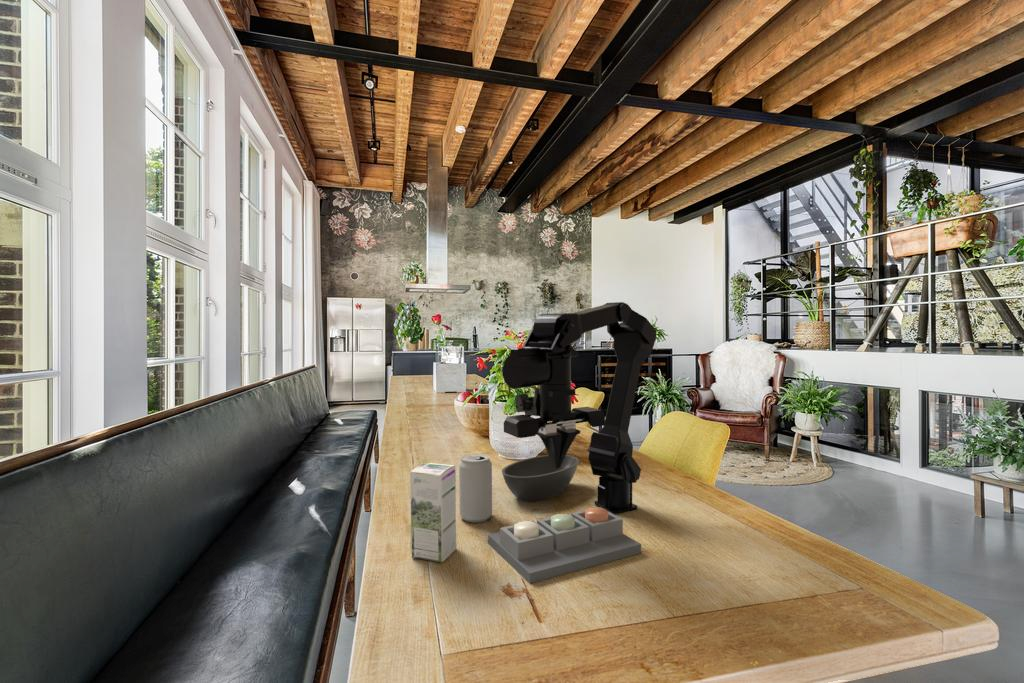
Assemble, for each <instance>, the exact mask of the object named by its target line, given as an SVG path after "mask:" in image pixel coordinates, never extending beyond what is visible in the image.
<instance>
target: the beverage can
mask: <svg viewBox="0 0 1024 683" xmlns="http://www.w3.org/2000/svg"><path fill="white" fill-rule="evenodd" d="M460 460H461V461H460V462H459V464H458V473H459V474H458V476H459V478H458V479H459V483H458V484H459V486H458V488H459V492H458V493H459V494H458V495H459V516H460V518H462V519H463V520H464V521H465V522H469V523H482V522H485V521H487V519H488V520H489V519H490V518H491V516H492V515H493V467H492V465H493V464H492V461H491V457H490V456H489V455H488V454H484V453H471V454H466V455H465V454H464V455H462V456H461V457H460Z"/></svg>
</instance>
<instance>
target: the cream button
mask: <svg viewBox="0 0 1024 683" xmlns="http://www.w3.org/2000/svg"><path fill="white" fill-rule="evenodd" d="M536 523H537V522H536ZM536 523H534V522H531V521H528V520H527V521H525V520H524V521H523V520H522V521H519V522H516V523H515V524H513V525H514V535H515V536H516V537H517V538H518V539H519V540H523V539H527V538H532V537H536V536H539V526H538V524H536Z"/></svg>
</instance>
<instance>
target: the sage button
mask: <svg viewBox="0 0 1024 683" xmlns="http://www.w3.org/2000/svg"><path fill="white" fill-rule="evenodd" d="M567 514H568V513H558V514H554V515H552V516H551V527H553V528H554V529H555V530H557V531H563V530H567V529H572V528H575V518H574V517H573V516H571V514H569V515H567Z"/></svg>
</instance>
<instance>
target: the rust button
mask: <svg viewBox="0 0 1024 683" xmlns="http://www.w3.org/2000/svg"><path fill="white" fill-rule="evenodd" d="M608 512H609V511H607V510H606V509H604V508H599V506H594V507H593V506H591V507H588V508H586V509H585V519H587V520H588V521H590V522H592V523H593V524H594V523H598V522H603V521H607V520H608Z"/></svg>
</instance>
